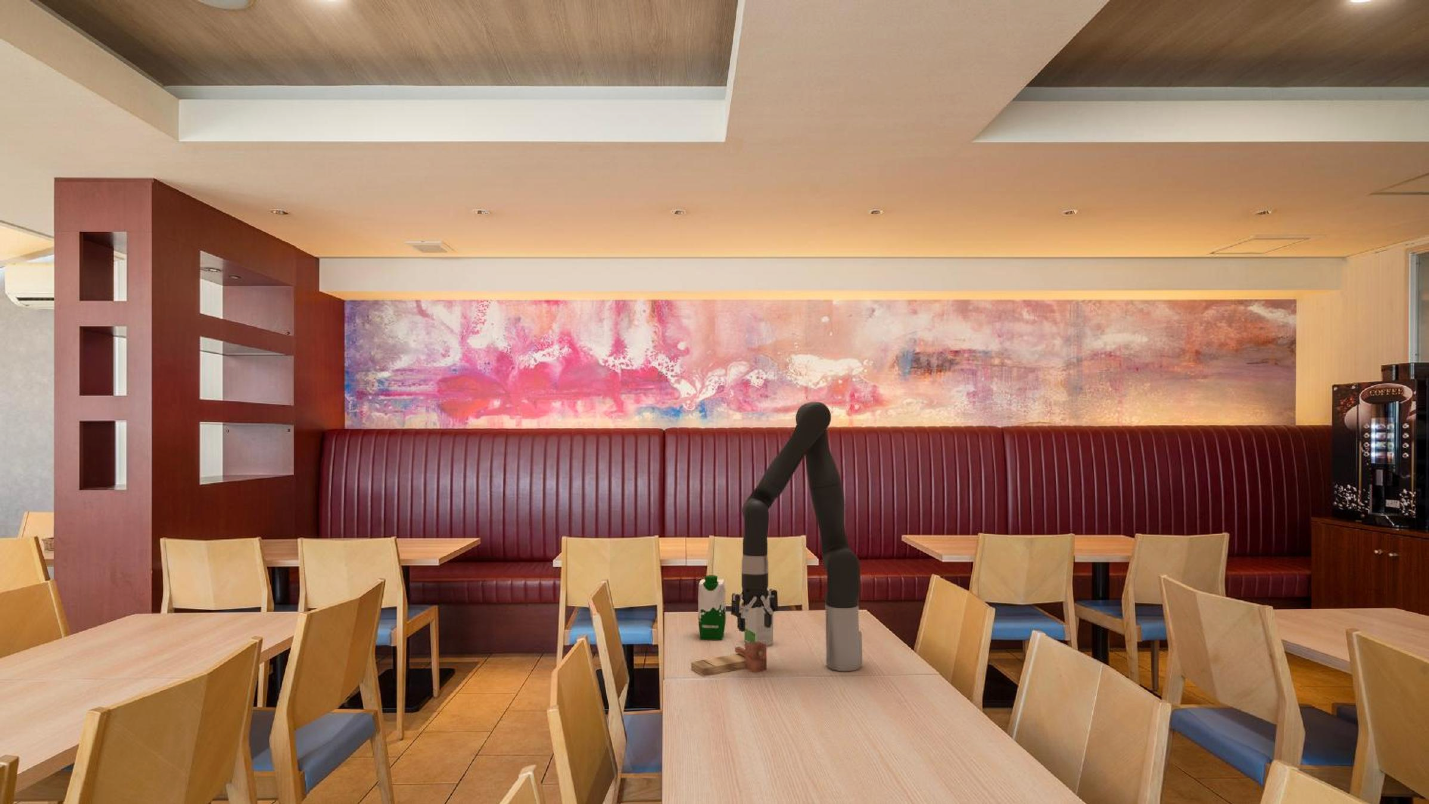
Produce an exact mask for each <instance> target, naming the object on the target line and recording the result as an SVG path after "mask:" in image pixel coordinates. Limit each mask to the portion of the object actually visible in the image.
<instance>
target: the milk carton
mask: <svg viewBox="0 0 1429 804" xmlns="http://www.w3.org/2000/svg"><path fill="white" fill-rule="evenodd" d="M697 588H698V590H697V591H698V593H697V594H698V596H697V601H698V602H697V603H698V605H697V606H698V607H697V608H698V609H697V610H698V613H697V614H698V616H697V617H698V618H697V619H698V622H697V623H698V629H699V631H698V632H699V638H700V639H699V640H700V641H722V640H723V639H724V635H725V630H726V629H725V627H726V622H727V621H726V618H727V615H726V614H727V613H726V611H727V610H726V608H727V606H726V605H727V604H726V602H727V601H726V598H727V597H726V592H727V591H726V585H725V579H718V575H716V574H715V575H714V574H713V575H712V574H707V575H705V576H704V578H703V579H701V580H700V581H699V583H698V587H697Z"/></svg>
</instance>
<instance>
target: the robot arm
mask: <svg viewBox="0 0 1429 804" xmlns="http://www.w3.org/2000/svg"><path fill="white" fill-rule="evenodd" d="M831 421H832V414H831V411H830V408H828V406H827V405H826V404H825V403H823V402H821V401H820V402H819V401H810V402H806V403H804V404H802V405H801V406H799V408H798V410H797V411H796V414H795V423H796V425H795V426H794V427H795V428H794V429H793V431H792V433H791V435H790V437H789V439H788V440H787V442H786V443H785V444H784V445H783V447H782V449H781V450H780V451H779V452H778V454H777V455H776V456H775V457H774V459H773V460H772V461H771V463H770V464H769V466H768V467H767V469H766V470H765V472H764V474H763V475H762V477H761V478H760V481H759V483H758V484H757V486H756V487H755V488H754V489H753V491H752V492H751V493H750V494H749V496H748V497H747V499H746V500H745V502H744V504H743V506H742V510H741V513H742V518H743V519H744V522H743V523H744V534H743V539H742V557H741V558H742V559H741V589H742V590H741V593H734V592H732V594H731V603H730V604H731V605H730V606H731V607H730V614H731V616H734V617H736V618H737V619H736V620H737V621H736V623H737V625H736V626H737V630H738V631H740V632H742V633H744V631H745V615H746V613H747V612H748V611H749V610H750V609H751V608H756V607H759V608H760V607H762V608H763V610H764V611H765V612H766V613H764V626H765V627H767V628H770V627H771V624H772V613H773V612H774V613H775V612H778V610H779V601H778V599H779V598H778V596H779V595H778V591H777V590H776V589H773V588H769V557H768V552H769V551H768V550H769V549H768V535H769V534H768V533H769V532H768V531H769V525H770V511H769V510H770V509H771V506H772V505H773V503H774V502H775V500H776V499H777V498H779V497H780V496H781V495H782V493H783V492H784V490H785V488H786V487H787V485H788V484H789V482H790V481H791V478H792V477H793V475H794V474H795V472H796V470H797V469H798V467H799V465H800V464H801V462H802V460H803V459H804V458H805V466H806V467H805V468H806V474H807V482H808V488H809V494H810V498H811V503H812V506H813V510H814V515H815V519H816V523H817V525H818V530H819V534H820V544H821V552H822V553H821V556H822V565H823V568H824V570H825V573H827V574H826V575H827V576H826V577H827V578H826V582H827V584H826V585H827V588H826V593H825V601H824V602H825V603H824V606H825V607H824V608H825V655H826V656H825V657H826V658H825V659H826V660H825V661H826V663H825V664H826V667H827V668H828V669H830V670H834V671H839V672H851V671H857V670H858V669H860V668H861V667H863V637H862V636H863V634H862V632H861V631H860V628H859V627H860V625H859V624H860V623H859V622H860V620H859V618H860V617H859V598H860V595H861V565H860V561H859V558H858V556H857V555H856V554H855V553H854V551H852V550H851V548H850V544H849V541H848V537H847V534H846V527H845V510H846V509H845V504H846V503H845V495H844V490H843V484H842V480H841V475H840V473H839V470H838V467H837V465H836V462H835V460H834V458H833V454H832V452H831V450H830V446H829V445H830V444H829V439H828V432H827V428H828V427H830V425H831ZM768 589H769V590H768ZM768 596H769V601H770V605H769V604H768V602H767V601H766V599H767V597H768ZM745 605H746V607H745Z"/></svg>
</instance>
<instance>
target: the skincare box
mask: <svg viewBox="0 0 1429 804" xmlns="http://www.w3.org/2000/svg"><path fill="white" fill-rule="evenodd" d="M766 601H767V602H768V604H769V605H770V601H769V596H768V597H767V599H766ZM745 607H746V605H745ZM764 613H766V612H765V611H764V610H763V608H762V607H760V608H759V607H756V608H751V609H750V610H749V611H748V612H747V613H746V615H745V617H744V618H745V631H744V632H743V633H744V637H743V640H744V642H745V643H751V642H756V641H759V642H762V643H764V644H766V647H769V646H770V647H771V646H773V645H774V614H775V612H773V613H772V624H771V627H770V628H767V627H765V626H764Z"/></svg>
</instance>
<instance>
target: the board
mask: <svg viewBox="0 0 1429 804" xmlns="http://www.w3.org/2000/svg"><path fill="white" fill-rule="evenodd" d="M742 669H745V657H744V656H742V655H740V654H738V653H734V654H732V653H731V654H728V655H722V656H717V657H712V658H711V657H710V658H707V659H700V660H696V661H694V660H693V661H691V662H690V670H692V672H696V673H697V674H699V675H700V676H702V677H706V676H711V675H716V674H722V673H726V672H733V671H736V670H737V671H738V670H742Z"/></svg>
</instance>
